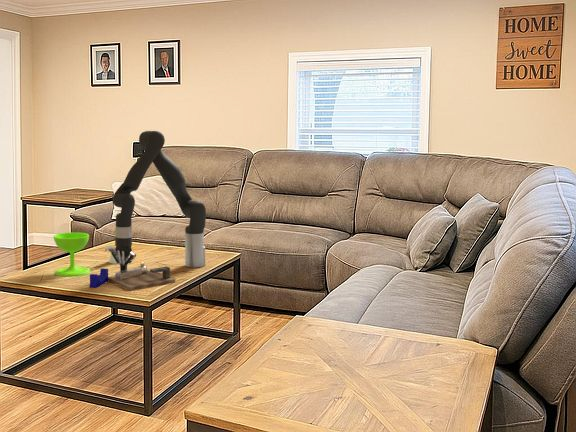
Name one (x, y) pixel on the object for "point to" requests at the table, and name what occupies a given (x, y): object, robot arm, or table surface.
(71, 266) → the wineglass
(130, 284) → the board
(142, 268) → the link
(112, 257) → the inkwell
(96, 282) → the cable clip
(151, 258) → the table surface
